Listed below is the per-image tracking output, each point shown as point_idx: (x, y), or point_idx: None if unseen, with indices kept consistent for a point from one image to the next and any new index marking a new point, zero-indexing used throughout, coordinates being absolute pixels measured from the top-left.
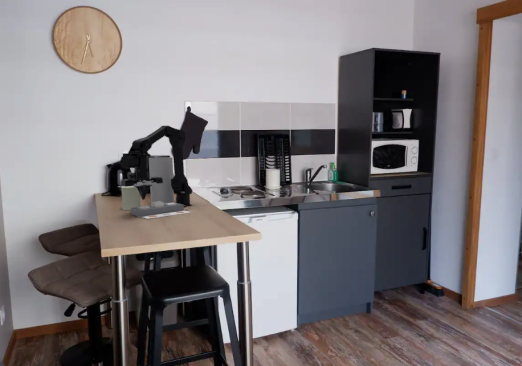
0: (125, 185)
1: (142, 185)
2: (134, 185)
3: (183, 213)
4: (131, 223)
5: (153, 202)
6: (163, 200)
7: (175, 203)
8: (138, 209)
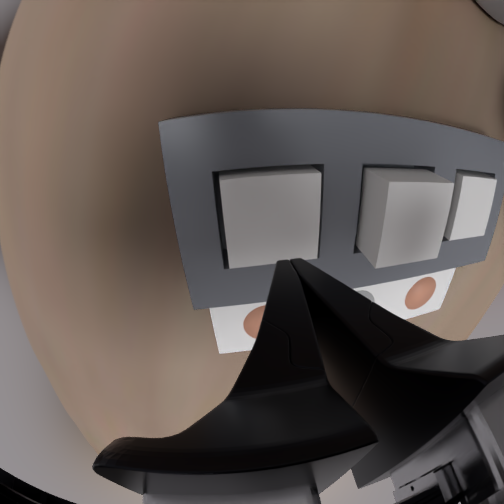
0: (33, 497)
1: (427, 412)
2: (148, 496)
3: (412, 316)
4: (133, 377)
5: (393, 214)
6: (497, 4)
7: (486, 223)
8: (201, 259)
